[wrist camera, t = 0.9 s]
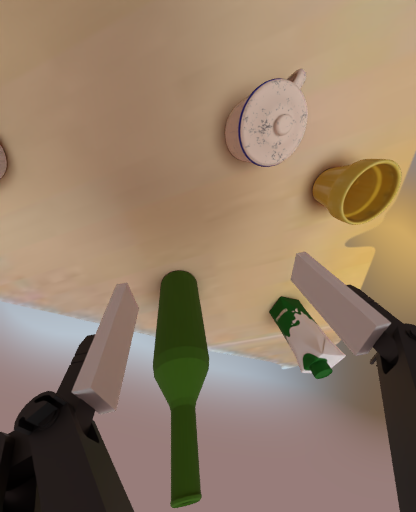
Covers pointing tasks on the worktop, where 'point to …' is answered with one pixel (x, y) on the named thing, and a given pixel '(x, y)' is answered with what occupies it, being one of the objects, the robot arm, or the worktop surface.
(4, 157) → the ramekin
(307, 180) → the worktop surface
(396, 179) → the plant pot
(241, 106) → the teacup with lid
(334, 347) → the milk carton
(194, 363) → the wine bottle
